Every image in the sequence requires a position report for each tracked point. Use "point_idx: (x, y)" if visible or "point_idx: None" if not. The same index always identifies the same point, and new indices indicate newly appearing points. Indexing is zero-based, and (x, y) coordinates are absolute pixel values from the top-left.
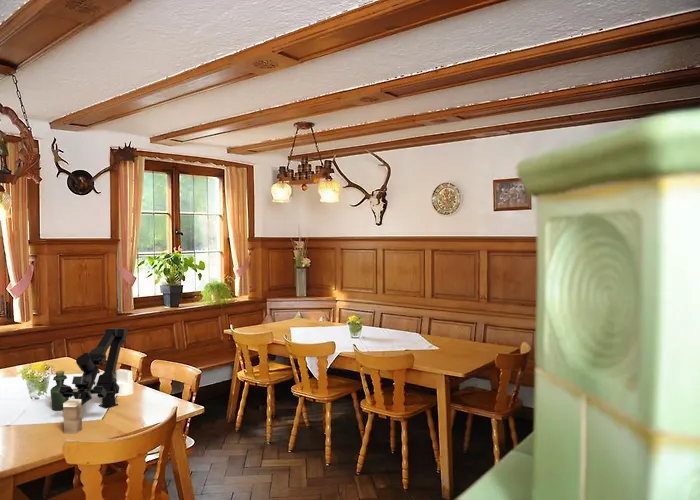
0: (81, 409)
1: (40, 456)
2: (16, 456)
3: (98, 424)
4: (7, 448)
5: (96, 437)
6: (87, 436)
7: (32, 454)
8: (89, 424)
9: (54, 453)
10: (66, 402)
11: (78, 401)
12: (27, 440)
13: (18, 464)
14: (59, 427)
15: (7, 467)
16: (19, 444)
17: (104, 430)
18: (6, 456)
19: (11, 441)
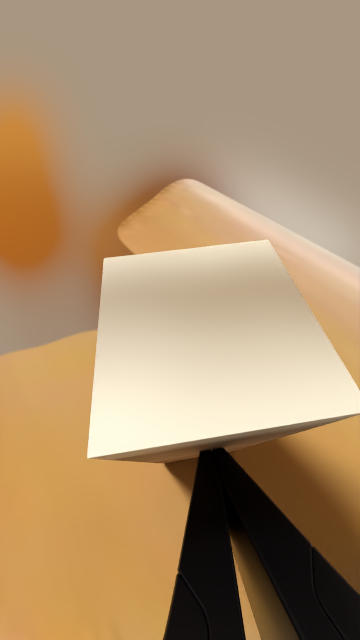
0: (139, 461)
1: (155, 219)
2: (221, 212)
3: (91, 602)
4: (300, 239)
5: (32, 360)
6: (80, 364)
7: (187, 223)
8: (165, 586)
9: (128, 234)
10: (253, 265)
11: (99, 340)
12: (306, 293)
13: (178, 189)
14: (327, 470)
15: (191, 180)
16: (296, 264)
17: (12, 464)
18: (247, 209)
19: (354, 278)
